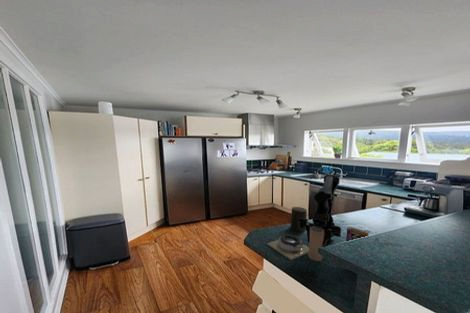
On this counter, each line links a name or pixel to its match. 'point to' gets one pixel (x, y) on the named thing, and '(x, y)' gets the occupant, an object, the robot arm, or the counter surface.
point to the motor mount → (289, 246)
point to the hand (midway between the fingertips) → (315, 244)
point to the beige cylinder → (315, 242)
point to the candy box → (355, 233)
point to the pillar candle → (295, 215)
